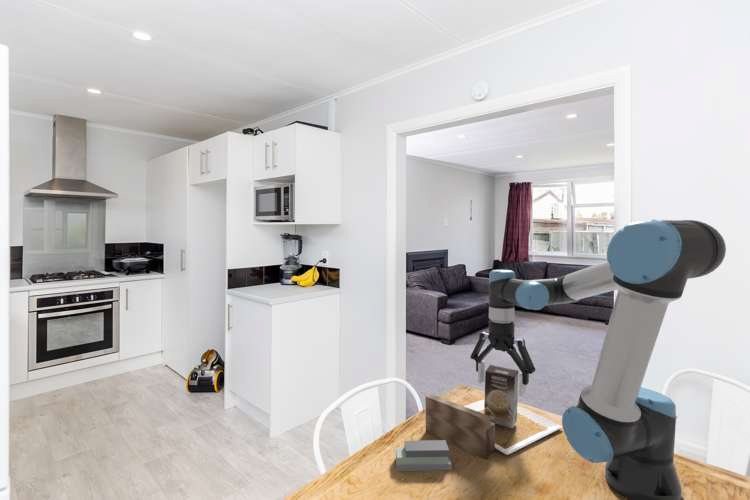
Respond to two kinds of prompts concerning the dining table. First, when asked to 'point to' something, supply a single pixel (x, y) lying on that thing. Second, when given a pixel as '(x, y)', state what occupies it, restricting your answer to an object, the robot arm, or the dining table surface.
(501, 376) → the coffee box
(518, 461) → the dining table surface
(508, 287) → the robot arm
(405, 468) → the sleeved eraser
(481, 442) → the walnut block
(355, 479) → the dining table surface
